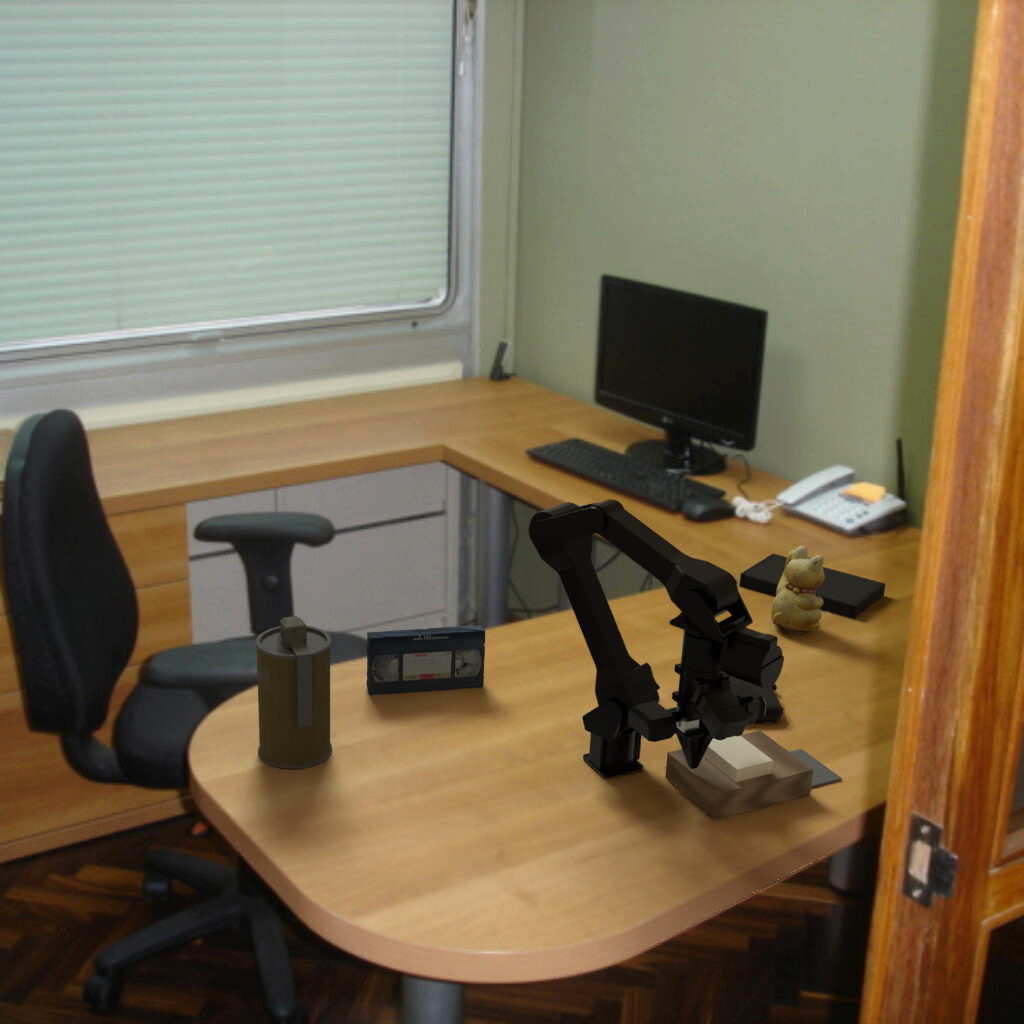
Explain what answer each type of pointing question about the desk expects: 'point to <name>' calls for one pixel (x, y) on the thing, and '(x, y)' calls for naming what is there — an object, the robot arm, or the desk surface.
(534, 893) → the desk surface
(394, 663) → the vhs cassette tape
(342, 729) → the desk surface
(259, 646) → the canister
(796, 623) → the decorative figurine
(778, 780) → the riser
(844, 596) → the external hard drive
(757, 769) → the cream rectangular box
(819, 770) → the mat
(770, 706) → the carrying case or bag
